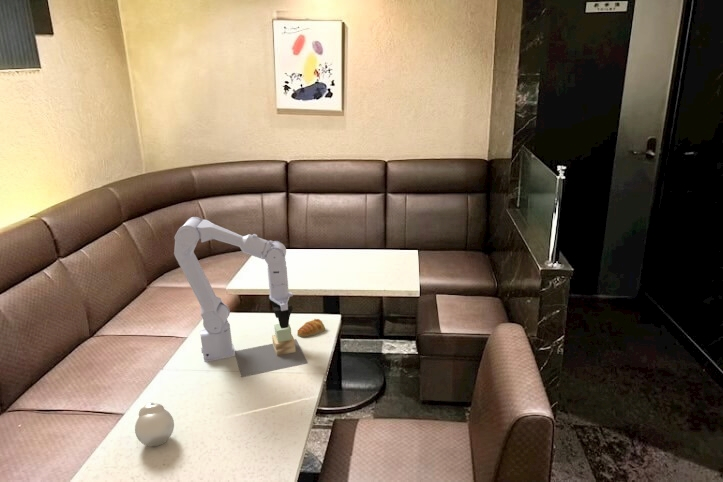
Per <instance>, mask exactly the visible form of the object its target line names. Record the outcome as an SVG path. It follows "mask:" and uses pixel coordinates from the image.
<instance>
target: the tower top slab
mask: <svg viewBox="0 0 723 482" xmlns="http://www.w3.org/2000/svg"><path fill="white" fill-rule="evenodd" d="M291 335H292V340H288V341H283V342H278V341H277V339H276V336H275V334H273V335H271V336H272V337H271V339H272V344H273V343H274V346H275V348H276V350H279V349H284V348H289V347H294V346H295V340H294V339H295V338H294V336H293V334H292V333H291Z"/></svg>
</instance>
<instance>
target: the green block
mask: <svg viewBox="0 0 723 482" xmlns="http://www.w3.org/2000/svg"><path fill="white" fill-rule="evenodd" d="M273 325H274V333H275V334H274V335H275V336H276V339H277V341H278V342H283V341H288V340H292V336H293V334H292V328H291V324H288V327H287V328H281V327H280V324H279V323H278V324H273ZM291 334H292V335H291Z"/></svg>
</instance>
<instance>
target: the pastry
mask: <svg viewBox="0 0 723 482" xmlns="http://www.w3.org/2000/svg"><path fill="white" fill-rule="evenodd" d="M324 331H326V327H325V325H324V322H323V320H321V319H320V318H314V319H312V320H310V321H309V320H308V321H306V322H305V323H304V324H302V326H300V327H299V328H298V329H297V336H298V337H300V338H307V337H312V336H316V335H317V334H320V333H322V332H324Z"/></svg>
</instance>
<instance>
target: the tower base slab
mask: <svg viewBox="0 0 723 482" xmlns="http://www.w3.org/2000/svg"><path fill="white" fill-rule="evenodd" d="M272 344H273V347H274V350H275V352H276V355H277V356H278V355H282V354H287V353H292V352H296V349H295V346H294V347H289V348H284V349H279V350H276V348H275V346H274V343H273V342H272Z"/></svg>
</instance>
